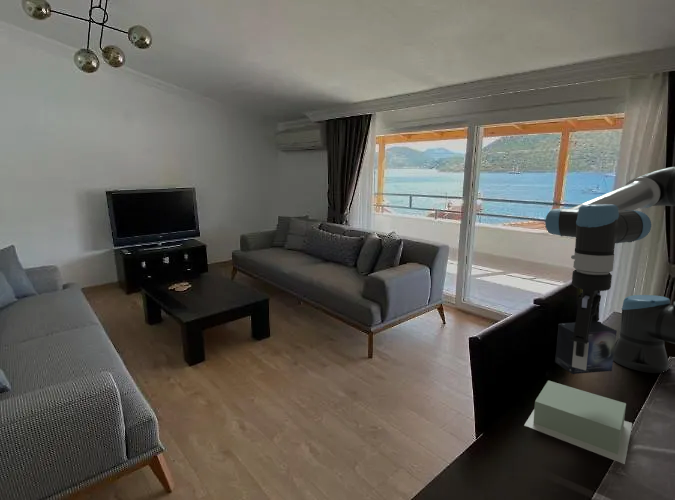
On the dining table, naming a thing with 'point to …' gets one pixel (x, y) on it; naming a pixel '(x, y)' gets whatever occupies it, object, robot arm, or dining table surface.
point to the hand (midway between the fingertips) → (583, 358)
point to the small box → (598, 348)
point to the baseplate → (617, 457)
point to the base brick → (581, 415)
